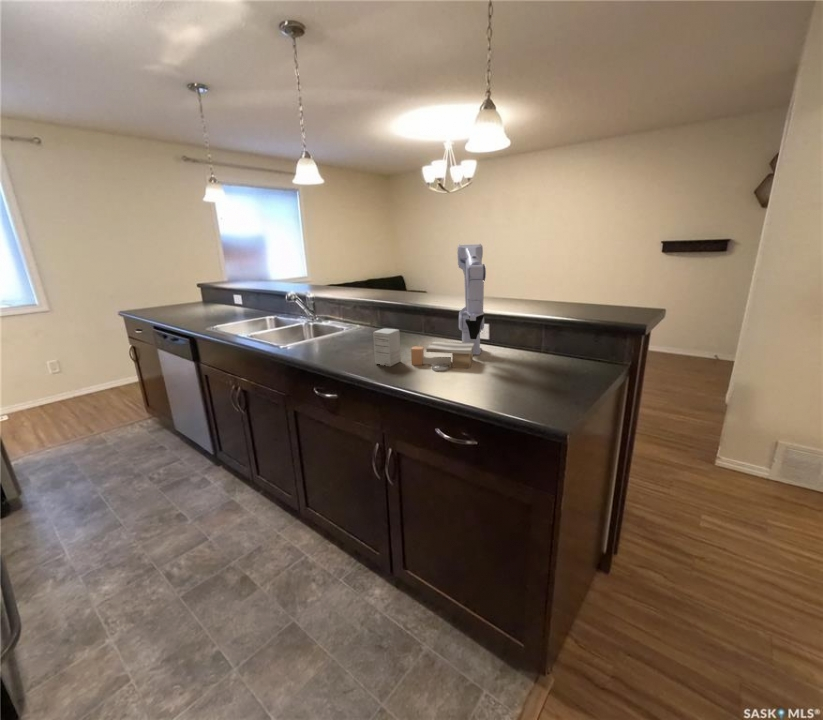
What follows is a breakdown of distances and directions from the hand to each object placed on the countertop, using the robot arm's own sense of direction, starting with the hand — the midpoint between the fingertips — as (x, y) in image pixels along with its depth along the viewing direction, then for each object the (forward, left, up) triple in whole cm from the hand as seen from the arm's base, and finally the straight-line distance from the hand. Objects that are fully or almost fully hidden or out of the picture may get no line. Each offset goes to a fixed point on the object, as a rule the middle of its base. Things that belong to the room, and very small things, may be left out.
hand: (474, 336), depth 142 cm
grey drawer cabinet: (+6, -32, -10) cm, 34 cm away
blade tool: (+4, -15, -10) cm, 19 cm away
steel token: (+10, -11, -10) cm, 18 cm away
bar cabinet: (+2, -9, -10) cm, 14 cm away
